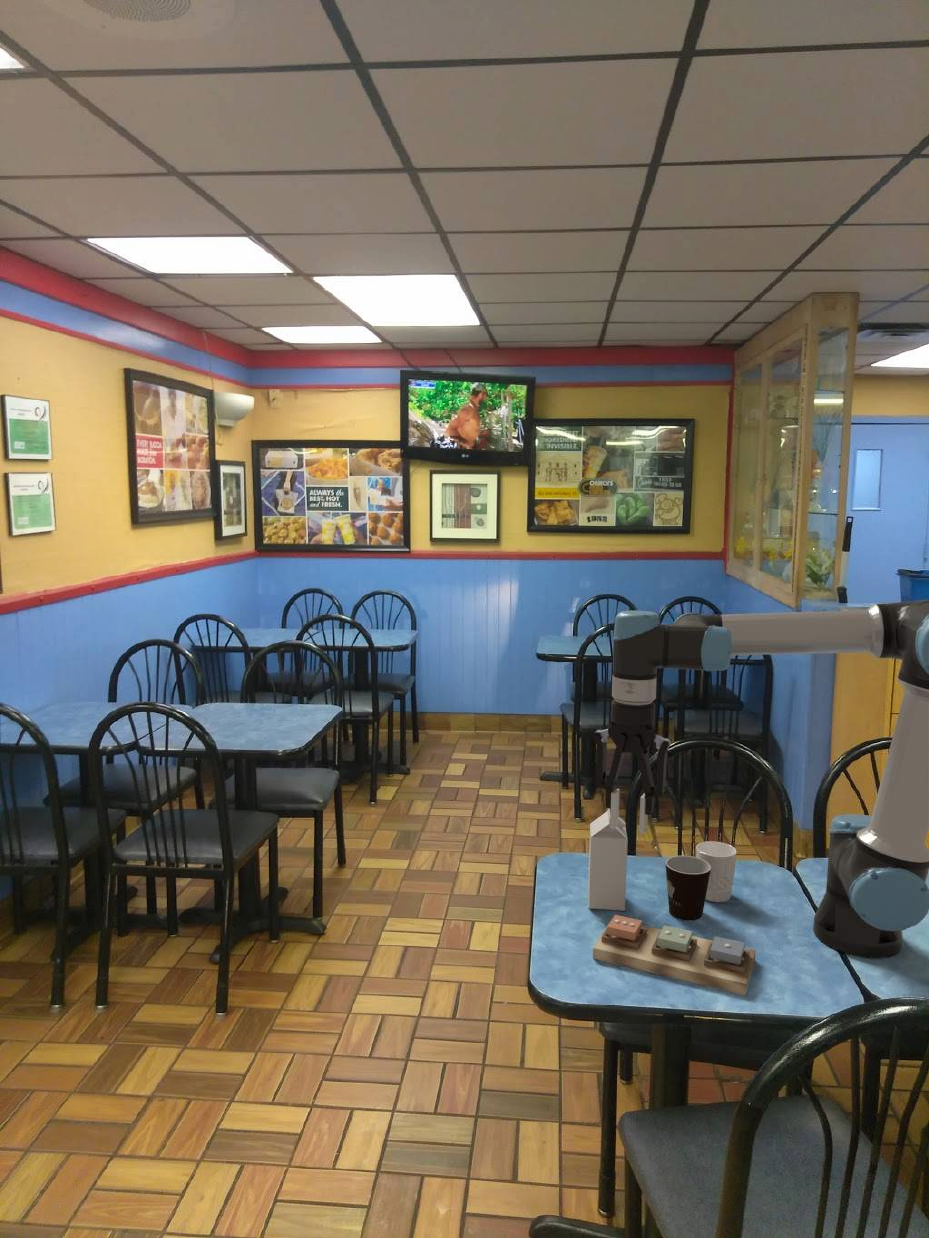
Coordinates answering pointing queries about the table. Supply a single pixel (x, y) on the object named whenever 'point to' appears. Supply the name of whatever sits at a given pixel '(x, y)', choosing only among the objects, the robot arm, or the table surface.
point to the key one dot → (727, 950)
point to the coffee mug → (687, 886)
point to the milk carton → (607, 864)
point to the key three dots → (624, 927)
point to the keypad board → (676, 960)
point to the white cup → (718, 869)
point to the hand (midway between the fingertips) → (628, 828)
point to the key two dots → (674, 938)
